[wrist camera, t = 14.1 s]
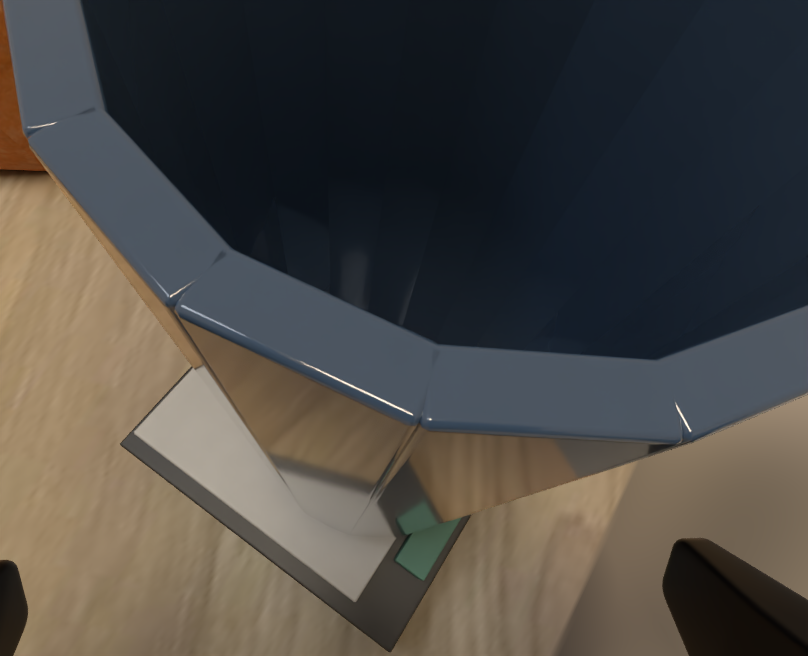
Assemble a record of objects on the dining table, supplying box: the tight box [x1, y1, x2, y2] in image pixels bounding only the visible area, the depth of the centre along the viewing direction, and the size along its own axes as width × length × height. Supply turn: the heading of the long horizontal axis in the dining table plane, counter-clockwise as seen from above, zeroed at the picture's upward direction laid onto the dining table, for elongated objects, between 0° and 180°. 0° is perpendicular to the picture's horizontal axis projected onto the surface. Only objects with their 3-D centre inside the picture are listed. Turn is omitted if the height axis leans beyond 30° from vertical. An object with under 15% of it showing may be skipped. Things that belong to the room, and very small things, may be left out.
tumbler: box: [2, 0, 808, 538], centre depth 10 cm, size 7×7×14 cm
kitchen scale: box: [120, 367, 471, 652], centre depth 18 cm, size 10×10×3 cm
